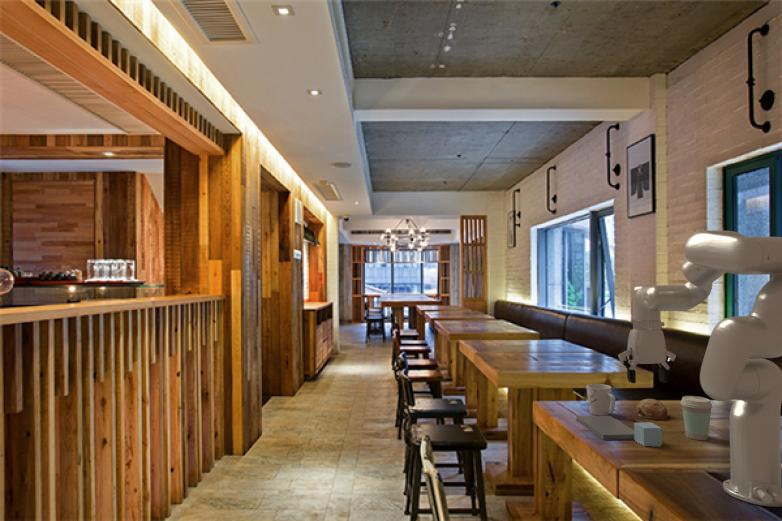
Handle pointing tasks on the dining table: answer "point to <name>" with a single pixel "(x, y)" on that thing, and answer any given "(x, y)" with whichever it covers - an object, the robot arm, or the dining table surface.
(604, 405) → the mug
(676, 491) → the dining table surface
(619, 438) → the board
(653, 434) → the cube
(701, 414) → the coffee cup
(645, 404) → the bread roll
